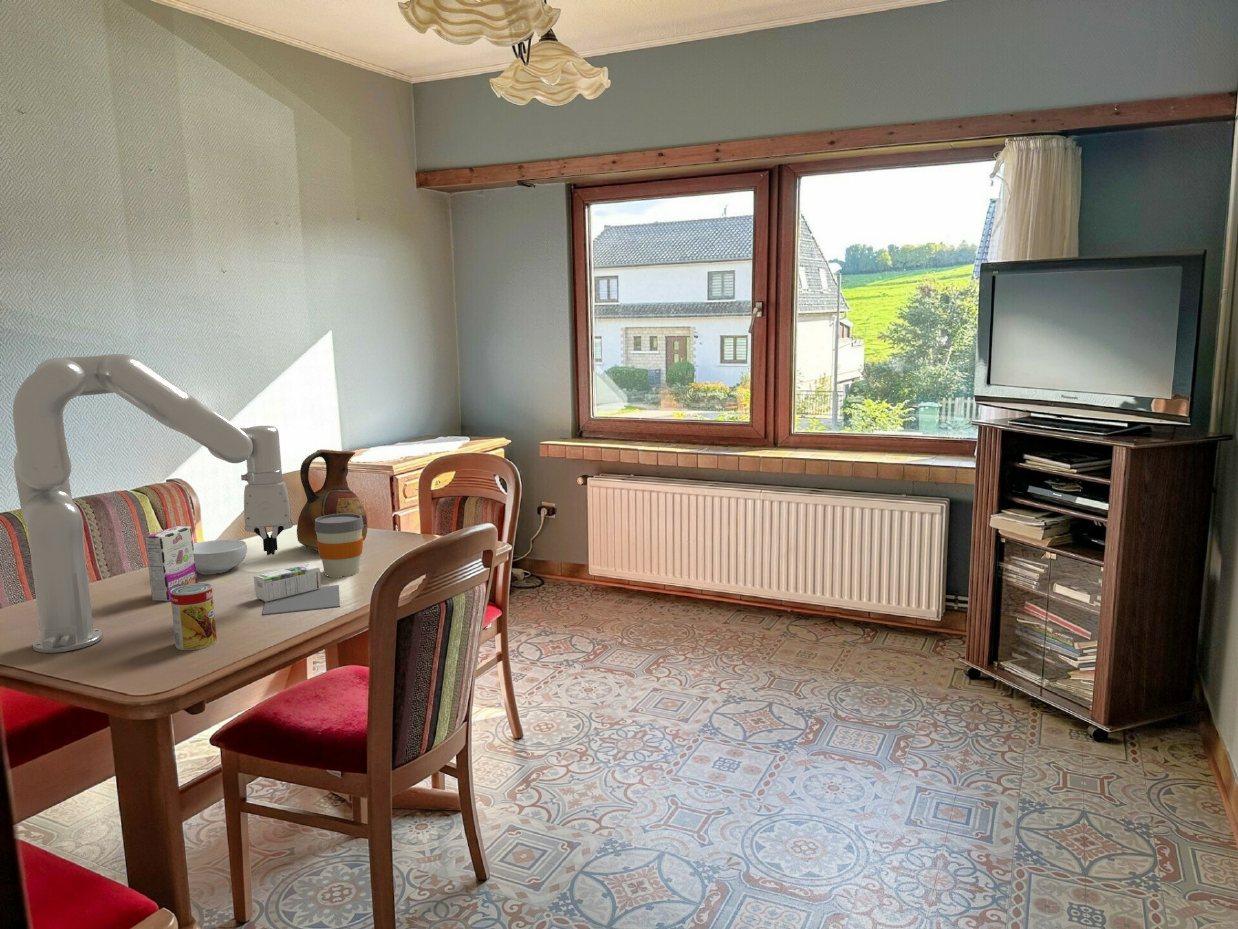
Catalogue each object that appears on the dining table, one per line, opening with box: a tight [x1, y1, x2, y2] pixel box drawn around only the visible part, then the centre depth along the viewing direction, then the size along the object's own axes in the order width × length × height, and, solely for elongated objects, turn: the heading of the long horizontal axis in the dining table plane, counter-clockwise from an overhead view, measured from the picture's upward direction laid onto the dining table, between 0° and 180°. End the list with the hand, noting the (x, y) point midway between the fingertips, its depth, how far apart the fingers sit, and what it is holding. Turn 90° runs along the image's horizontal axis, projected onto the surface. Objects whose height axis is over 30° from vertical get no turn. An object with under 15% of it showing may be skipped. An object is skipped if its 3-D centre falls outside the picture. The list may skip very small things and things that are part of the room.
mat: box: [262, 584, 341, 616], centre depth 214 cm, size 18×17×1 cm
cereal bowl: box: [193, 539, 248, 575], centre depth 242 cm, size 17×17×7 cm
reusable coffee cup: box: [315, 513, 364, 578], centre depth 237 cm, size 13×13×15 cm
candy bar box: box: [144, 525, 198, 602], centre depth 219 cm, size 11×5×16 cm, turn 168°
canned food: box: [170, 582, 218, 651], centre depth 185 cm, size 8×8×12 cm
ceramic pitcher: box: [296, 448, 368, 551], centre depth 262 cm, size 20×20×30 cm
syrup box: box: [253, 563, 322, 602], centre depth 218 cm, size 6×6×14 cm
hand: (271, 553), depth 212 cm, fingers closed
